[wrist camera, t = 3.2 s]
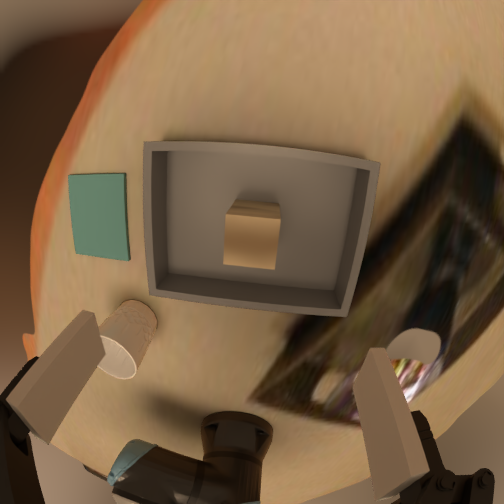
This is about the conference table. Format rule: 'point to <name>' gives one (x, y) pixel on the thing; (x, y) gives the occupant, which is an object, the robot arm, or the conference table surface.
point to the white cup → (126, 338)
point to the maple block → (252, 234)
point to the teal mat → (99, 215)
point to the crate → (263, 190)
